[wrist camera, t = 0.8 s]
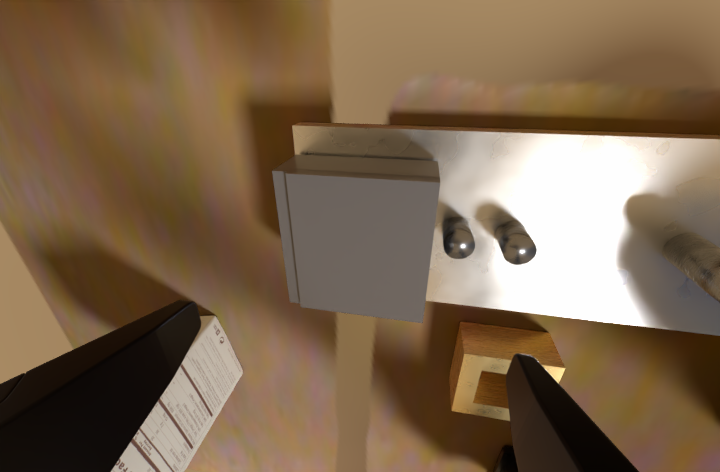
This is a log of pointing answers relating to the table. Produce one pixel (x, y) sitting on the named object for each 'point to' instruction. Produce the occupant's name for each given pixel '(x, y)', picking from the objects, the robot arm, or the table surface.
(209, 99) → the table surface
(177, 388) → the supplement box
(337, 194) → the box
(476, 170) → the pin plate
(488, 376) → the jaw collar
